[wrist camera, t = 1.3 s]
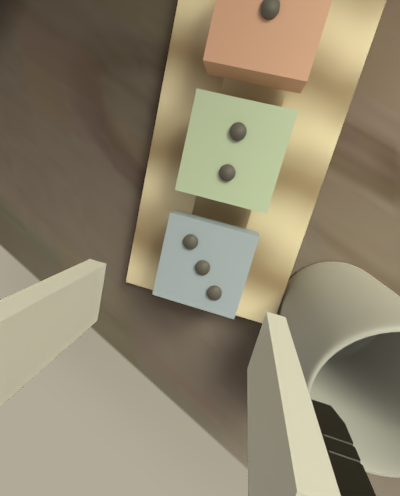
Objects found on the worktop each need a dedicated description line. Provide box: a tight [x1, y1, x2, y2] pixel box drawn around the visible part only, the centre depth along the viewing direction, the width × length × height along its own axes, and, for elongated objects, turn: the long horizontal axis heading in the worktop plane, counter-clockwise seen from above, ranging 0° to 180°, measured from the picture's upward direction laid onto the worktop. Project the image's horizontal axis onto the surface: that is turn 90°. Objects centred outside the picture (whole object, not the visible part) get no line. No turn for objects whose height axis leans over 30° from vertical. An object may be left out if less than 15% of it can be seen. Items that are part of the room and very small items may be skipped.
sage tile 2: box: [175, 89, 298, 214], centre depth 18 cm, size 6×6×4 cm
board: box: [126, 0, 386, 323], centre depth 21 cm, size 24×13×2 cm, turn 166°
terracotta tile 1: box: [203, 0, 332, 94], centre depth 16 cm, size 6×6×4 cm
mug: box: [278, 261, 400, 478], centre depth 18 cm, size 12×8×11 cm
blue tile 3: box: [152, 210, 259, 319], centre depth 20 cm, size 6×6×4 cm
